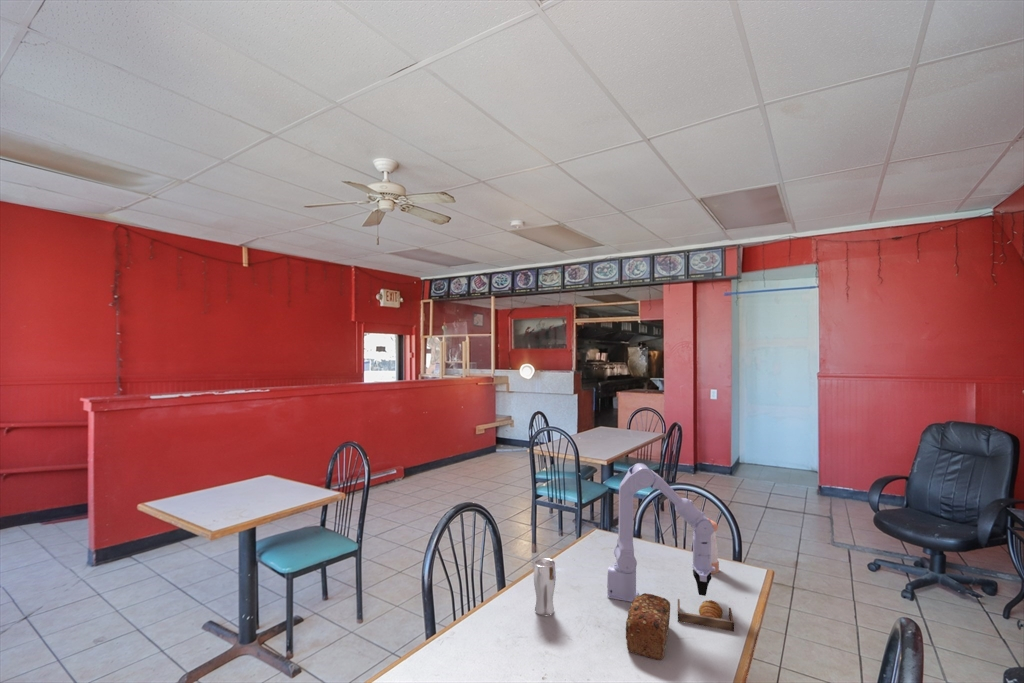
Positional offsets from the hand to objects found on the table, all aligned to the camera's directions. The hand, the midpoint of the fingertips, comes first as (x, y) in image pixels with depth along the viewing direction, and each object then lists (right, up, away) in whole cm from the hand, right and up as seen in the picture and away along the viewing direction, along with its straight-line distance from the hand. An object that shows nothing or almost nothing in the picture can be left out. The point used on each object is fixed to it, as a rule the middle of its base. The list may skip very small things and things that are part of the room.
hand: (702, 594), depth 154 cm
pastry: (-1, -2, -10) cm, 11 cm away
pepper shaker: (+12, -3, +23) cm, 26 cm away
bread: (-24, -1, -22) cm, 33 cm away
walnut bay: (-4, -1, -11) cm, 12 cm away
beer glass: (-53, -1, -8) cm, 54 cm away
